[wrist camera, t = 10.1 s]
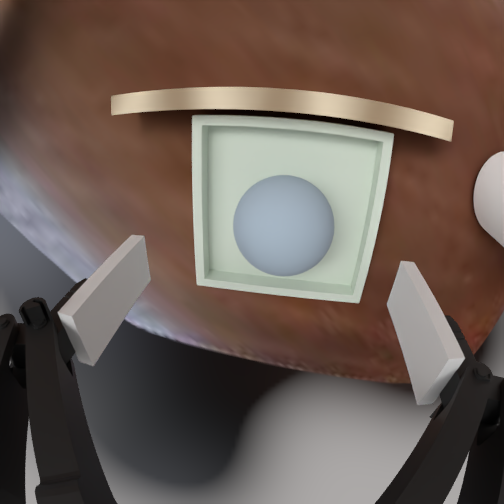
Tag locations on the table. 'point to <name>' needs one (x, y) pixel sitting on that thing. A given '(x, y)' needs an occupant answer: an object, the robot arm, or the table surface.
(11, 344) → the robot arm
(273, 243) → the ball
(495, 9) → the table surface
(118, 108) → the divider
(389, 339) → the table surface
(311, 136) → the tray
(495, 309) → the table surface
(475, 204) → the beverage can
